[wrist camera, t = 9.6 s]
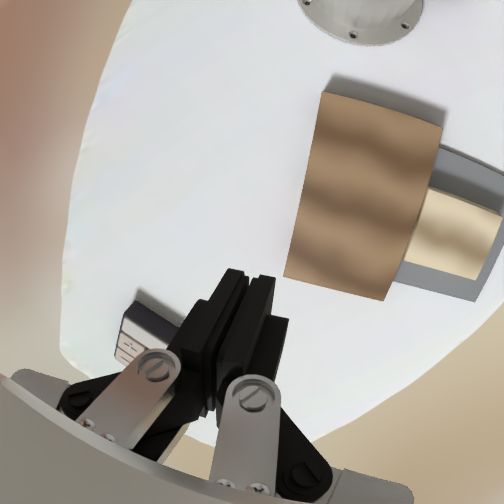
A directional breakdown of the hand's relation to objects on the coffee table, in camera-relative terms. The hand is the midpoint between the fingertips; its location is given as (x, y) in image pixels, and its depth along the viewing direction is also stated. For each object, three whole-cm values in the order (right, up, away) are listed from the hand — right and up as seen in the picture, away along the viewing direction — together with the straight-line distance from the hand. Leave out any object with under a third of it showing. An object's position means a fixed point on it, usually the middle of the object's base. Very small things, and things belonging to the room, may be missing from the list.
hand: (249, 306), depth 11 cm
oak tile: (+22, +4, +17) cm, 28 cm away
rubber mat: (+23, +4, +17) cm, 29 cm away
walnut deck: (+11, +7, +19) cm, 23 cm away
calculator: (-17, -14, +39) cm, 44 cm away
